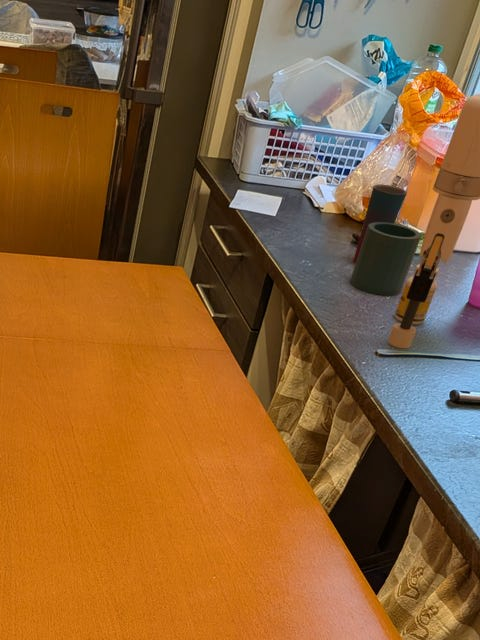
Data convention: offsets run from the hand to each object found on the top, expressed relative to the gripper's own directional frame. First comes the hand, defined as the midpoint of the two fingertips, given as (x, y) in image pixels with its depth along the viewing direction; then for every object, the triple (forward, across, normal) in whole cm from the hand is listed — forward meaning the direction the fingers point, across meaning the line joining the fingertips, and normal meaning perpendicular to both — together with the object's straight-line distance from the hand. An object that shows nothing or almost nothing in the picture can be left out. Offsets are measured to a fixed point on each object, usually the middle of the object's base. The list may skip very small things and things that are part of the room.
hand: (416, 296), depth 161 cm
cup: (+9, +44, +13) cm, 46 cm away
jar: (+9, +30, +8) cm, 32 cm away
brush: (+9, 0, 0) cm, 9 cm away
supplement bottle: (+9, +14, 0) cm, 17 cm away
